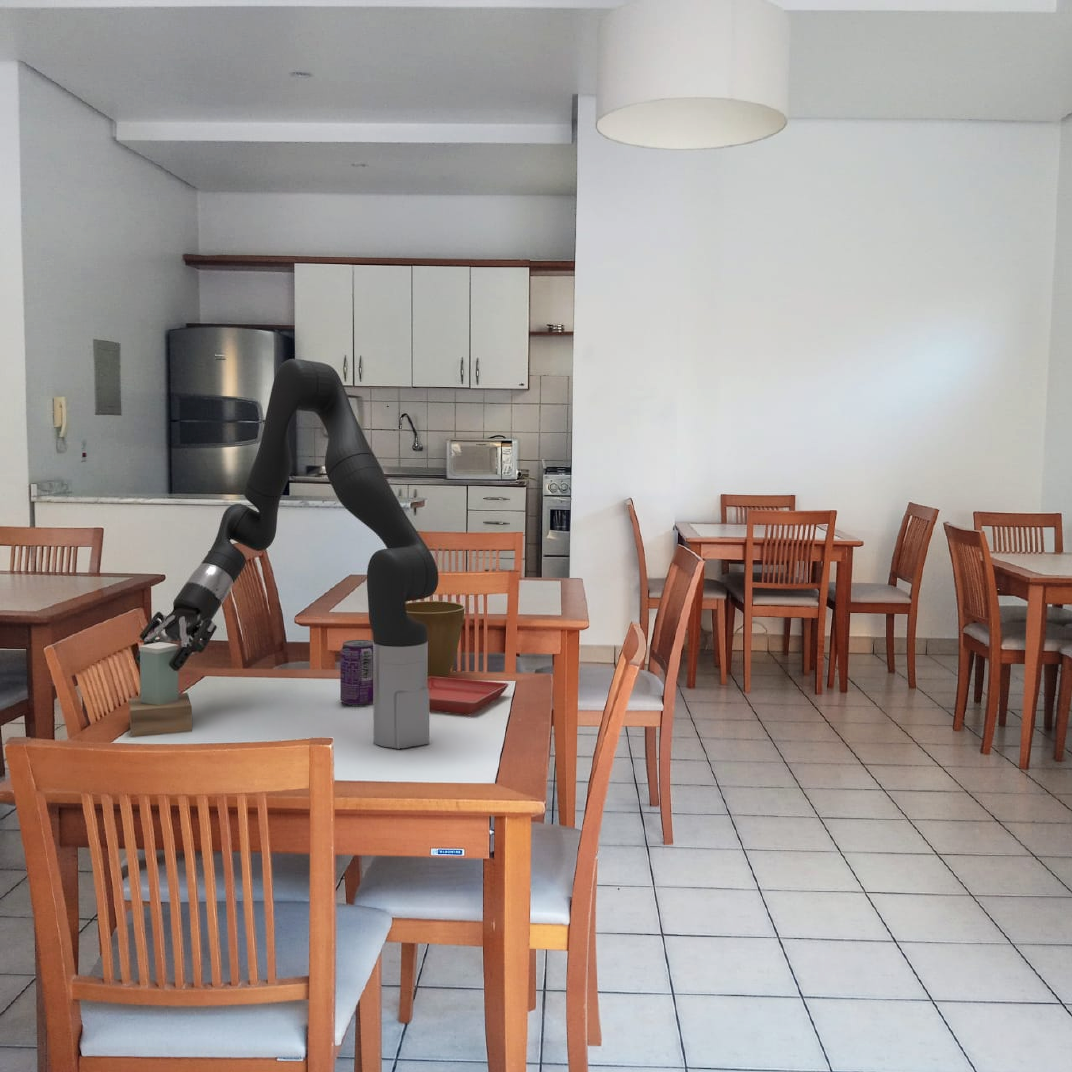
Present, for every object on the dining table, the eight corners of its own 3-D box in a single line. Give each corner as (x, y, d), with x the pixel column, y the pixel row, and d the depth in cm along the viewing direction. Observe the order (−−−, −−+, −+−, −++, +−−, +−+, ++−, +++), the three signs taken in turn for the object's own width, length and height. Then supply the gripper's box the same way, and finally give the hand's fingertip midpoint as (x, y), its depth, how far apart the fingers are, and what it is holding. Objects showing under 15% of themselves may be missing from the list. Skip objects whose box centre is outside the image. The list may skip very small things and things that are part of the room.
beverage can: (381, 698, 206) (380, 639, 205) (371, 707, 199) (371, 646, 198) (346, 697, 206) (345, 638, 205) (336, 706, 199) (335, 645, 198)
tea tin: (179, 700, 185) (178, 644, 184) (158, 706, 180) (158, 649, 180) (160, 696, 187) (160, 641, 186) (139, 702, 183) (139, 646, 182)
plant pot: (388, 674, 228) (388, 602, 226) (453, 669, 233) (453, 599, 232) (404, 689, 214) (404, 613, 213) (473, 684, 219) (473, 609, 218)
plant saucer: (429, 690, 215) (429, 674, 215) (510, 698, 209) (510, 682, 208) (388, 711, 198) (388, 694, 198) (474, 720, 192) (474, 702, 192)
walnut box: (192, 733, 181) (191, 705, 181) (131, 739, 178) (130, 710, 177) (187, 719, 191) (187, 692, 190) (129, 724, 187) (129, 697, 186)
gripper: (165, 578, 192) (115, 649, 183) (221, 583, 185) (172, 657, 176) (187, 602, 197) (140, 673, 188) (243, 609, 191) (196, 682, 182)
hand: (155, 665), depth 182 cm, fingers open, 8 cm apart
